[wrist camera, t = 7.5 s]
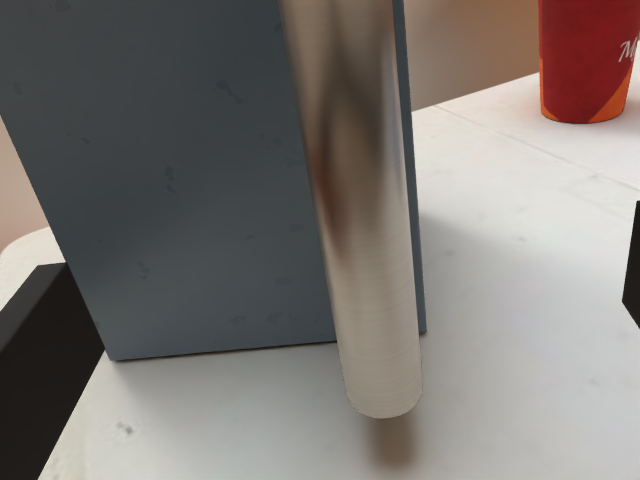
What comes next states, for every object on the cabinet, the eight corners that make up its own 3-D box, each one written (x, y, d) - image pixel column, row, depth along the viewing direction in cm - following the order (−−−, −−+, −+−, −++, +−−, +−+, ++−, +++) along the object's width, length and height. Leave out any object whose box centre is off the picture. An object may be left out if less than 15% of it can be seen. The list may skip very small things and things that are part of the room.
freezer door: (452, 472, 20) (415, -272, 10) (42, 498, 22) (-347, -119, 12) (424, 318, 27) (386, -208, 17) (116, 347, 29) (-85, -119, 19)
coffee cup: (663, 117, 42) (702, -124, 35) (550, 136, 42) (564, -101, 35) (606, 85, 50) (628, -121, 42) (510, 101, 50) (514, -101, 42)
